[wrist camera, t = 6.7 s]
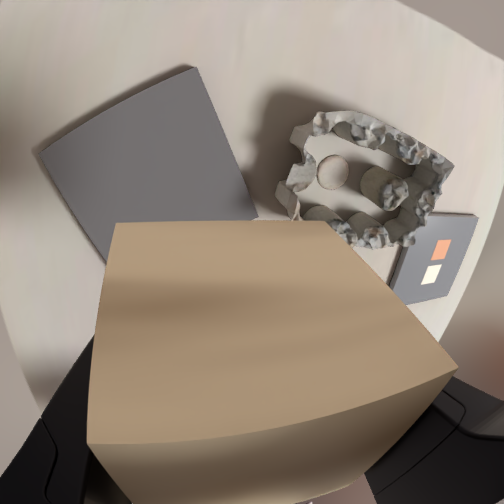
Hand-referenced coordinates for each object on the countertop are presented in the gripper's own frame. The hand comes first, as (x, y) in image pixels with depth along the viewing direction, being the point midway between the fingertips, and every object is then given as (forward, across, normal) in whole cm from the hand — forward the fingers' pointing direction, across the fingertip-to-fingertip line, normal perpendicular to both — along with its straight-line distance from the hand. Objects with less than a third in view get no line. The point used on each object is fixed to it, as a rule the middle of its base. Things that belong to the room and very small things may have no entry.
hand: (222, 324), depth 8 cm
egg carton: (+11, -10, -1) cm, 15 cm away
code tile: (+11, -21, +6) cm, 25 cm away
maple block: (+1, 0, 0) cm, 1 cm away
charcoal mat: (+11, +2, 0) cm, 11 cm away
